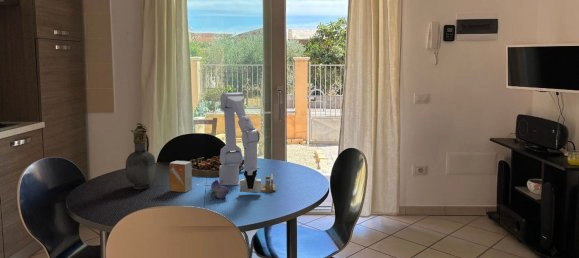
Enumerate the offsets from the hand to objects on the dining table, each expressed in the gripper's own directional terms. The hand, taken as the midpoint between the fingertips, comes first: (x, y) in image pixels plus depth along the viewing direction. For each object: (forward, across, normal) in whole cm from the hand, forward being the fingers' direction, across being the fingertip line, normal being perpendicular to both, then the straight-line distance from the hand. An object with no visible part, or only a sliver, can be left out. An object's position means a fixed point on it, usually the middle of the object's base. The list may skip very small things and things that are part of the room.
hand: (250, 187), depth 215 cm
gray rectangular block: (+2, 0, 0) cm, 2 cm away
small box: (+4, +8, +32) cm, 33 cm away
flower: (+4, -6, +14) cm, 16 cm away
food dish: (+4, +50, +21) cm, 54 cm away
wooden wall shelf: (+3, +10, -5) cm, 11 cm away
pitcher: (+4, +15, +51) cm, 53 cm away
